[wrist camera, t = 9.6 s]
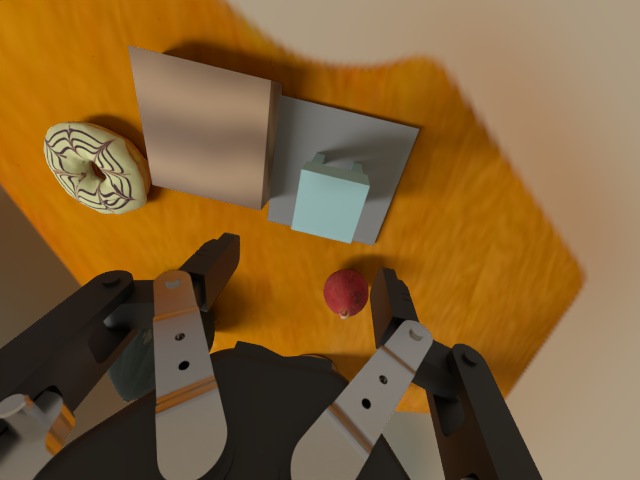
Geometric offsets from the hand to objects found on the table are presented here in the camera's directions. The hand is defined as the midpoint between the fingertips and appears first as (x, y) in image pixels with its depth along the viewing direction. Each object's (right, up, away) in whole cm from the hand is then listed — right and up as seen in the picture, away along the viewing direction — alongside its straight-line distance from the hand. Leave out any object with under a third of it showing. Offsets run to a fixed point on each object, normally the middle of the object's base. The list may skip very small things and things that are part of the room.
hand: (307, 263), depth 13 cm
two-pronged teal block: (+2, +8, +13) cm, 16 cm away
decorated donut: (-25, +11, +16) cm, 32 cm away
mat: (+2, +8, +14) cm, 16 cm away
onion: (+5, -3, +21) cm, 22 cm away
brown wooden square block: (-10, +13, +13) cm, 21 cm away
